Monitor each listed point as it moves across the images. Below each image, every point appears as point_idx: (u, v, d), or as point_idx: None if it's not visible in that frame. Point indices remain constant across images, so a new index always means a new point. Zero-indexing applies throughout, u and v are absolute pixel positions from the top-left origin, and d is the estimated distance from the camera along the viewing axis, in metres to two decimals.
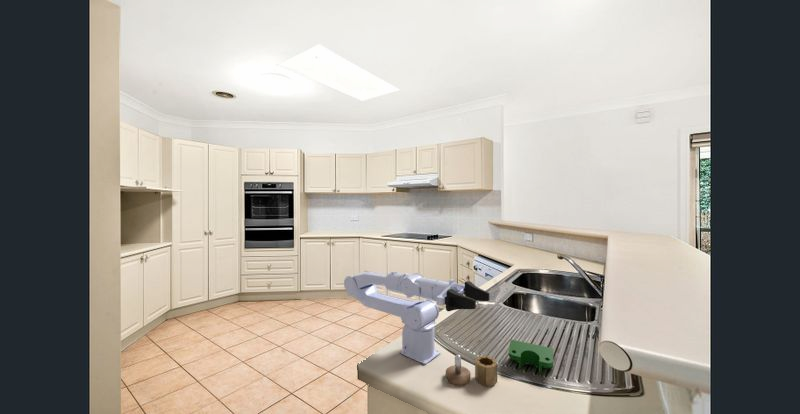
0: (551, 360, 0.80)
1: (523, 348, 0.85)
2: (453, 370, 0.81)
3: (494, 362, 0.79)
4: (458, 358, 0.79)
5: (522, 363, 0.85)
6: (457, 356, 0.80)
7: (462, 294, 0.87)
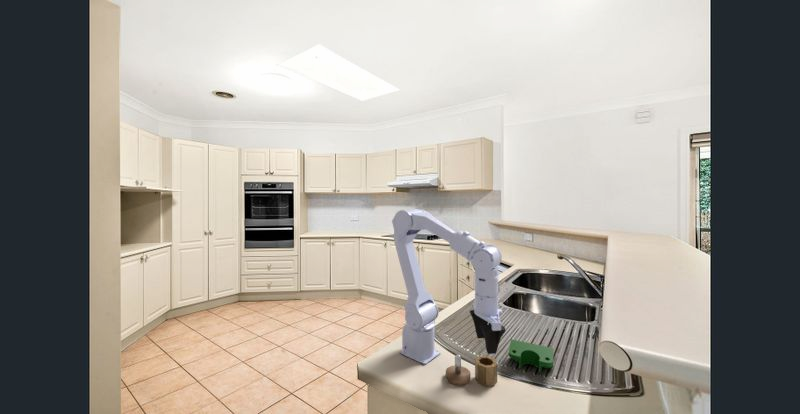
0: (551, 360, 0.80)
1: (523, 348, 0.85)
2: (453, 370, 0.81)
3: (494, 362, 0.79)
4: (458, 358, 0.79)
5: (522, 363, 0.85)
6: (457, 356, 0.80)
7: None
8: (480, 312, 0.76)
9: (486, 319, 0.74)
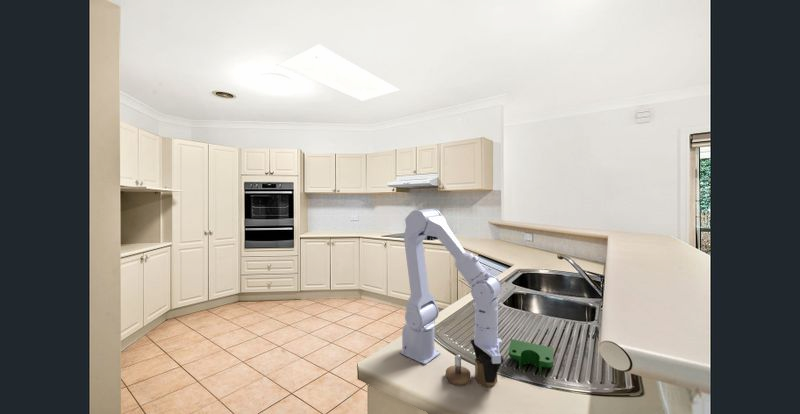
0: (551, 359, 0.80)
1: (523, 348, 0.85)
2: (453, 370, 0.81)
3: None
4: (458, 358, 0.79)
5: (522, 362, 0.85)
6: (457, 356, 0.80)
7: None
8: (479, 343, 0.77)
9: (486, 351, 0.74)
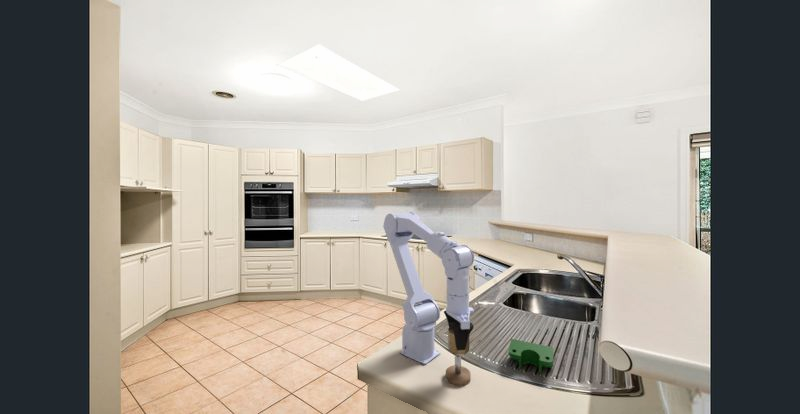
0: (551, 359, 0.80)
1: (523, 347, 0.85)
2: (453, 370, 0.81)
3: None
4: (458, 358, 0.79)
5: (522, 362, 0.85)
6: (457, 356, 0.80)
7: None
8: (450, 311, 0.77)
9: (456, 318, 0.75)
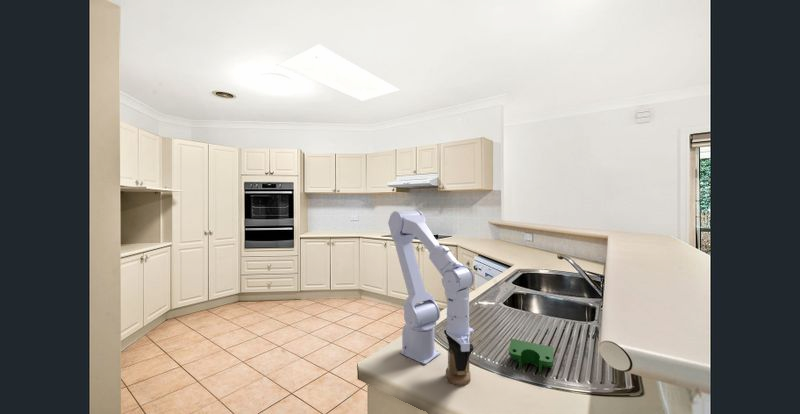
0: (551, 359, 0.80)
1: (523, 347, 0.85)
2: None
3: None
4: None
5: (522, 362, 0.85)
6: None
7: None
8: (451, 332, 0.78)
9: (456, 339, 0.75)
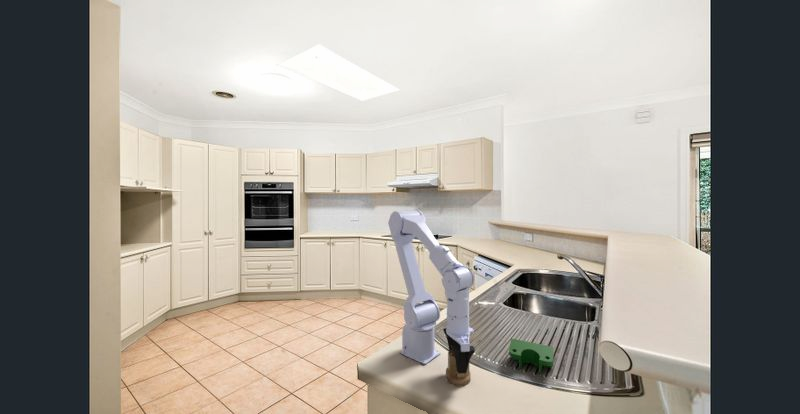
0: (551, 359, 0.81)
1: (523, 347, 0.86)
2: None
3: None
4: None
5: (522, 362, 0.86)
6: None
7: None
8: (451, 332, 0.78)
9: (456, 340, 0.75)
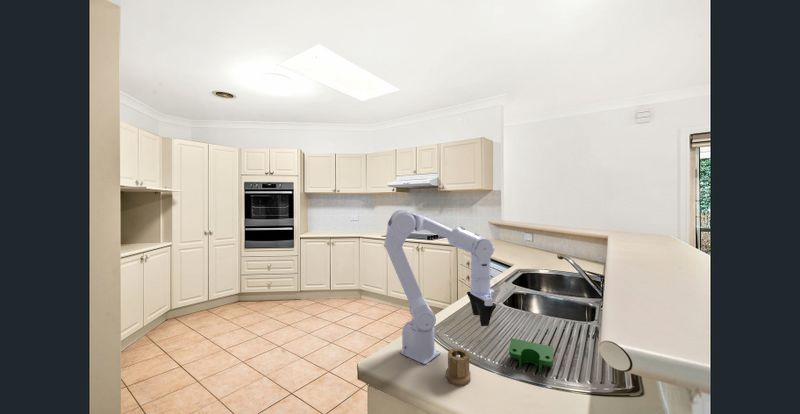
0: (551, 358, 0.81)
1: (523, 347, 0.86)
2: None
3: (466, 355, 0.80)
4: None
5: (522, 361, 0.86)
6: (457, 356, 0.80)
7: None
8: (475, 292, 0.91)
9: (480, 297, 0.89)
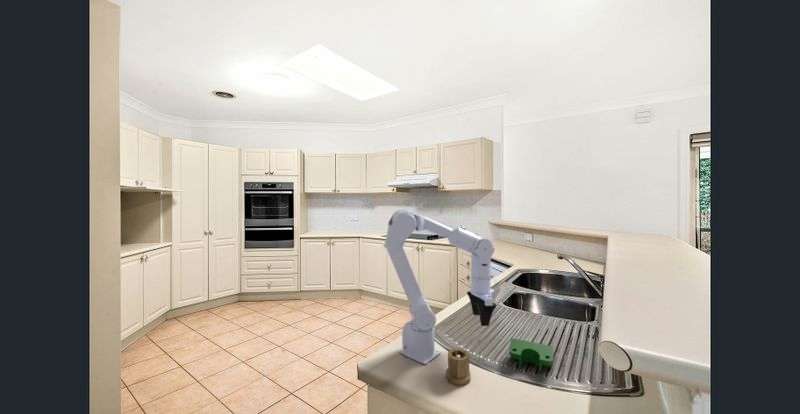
0: (551, 358, 0.81)
1: (523, 347, 0.86)
2: None
3: (466, 355, 0.80)
4: None
5: (522, 361, 0.86)
6: (457, 356, 0.80)
7: None
8: (475, 291, 0.91)
9: (480, 297, 0.89)
